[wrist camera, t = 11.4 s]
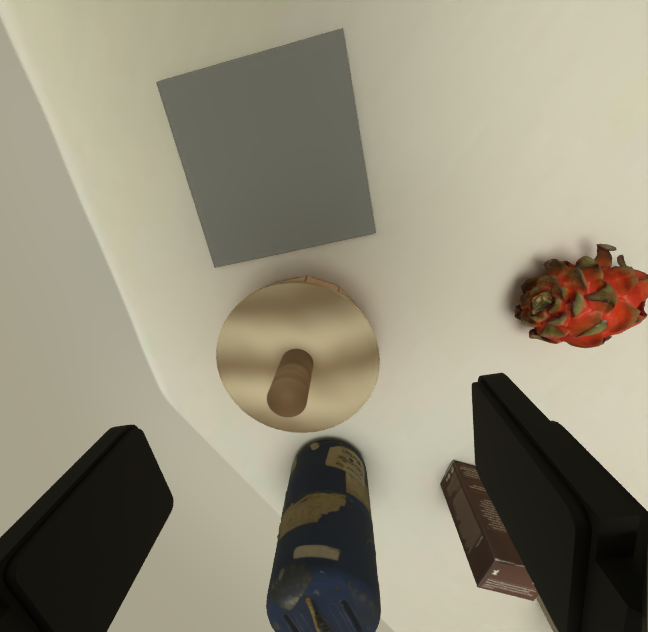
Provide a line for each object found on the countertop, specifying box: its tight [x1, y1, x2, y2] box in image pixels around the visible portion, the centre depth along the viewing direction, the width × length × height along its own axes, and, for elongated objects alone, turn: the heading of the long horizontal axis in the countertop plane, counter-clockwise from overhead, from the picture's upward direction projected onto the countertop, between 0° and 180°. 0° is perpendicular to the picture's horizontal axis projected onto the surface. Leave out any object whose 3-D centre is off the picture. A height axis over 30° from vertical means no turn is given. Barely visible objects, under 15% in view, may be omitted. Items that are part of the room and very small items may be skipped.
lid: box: [216, 281, 380, 433], centre depth 27 cm, size 15×15×7 cm
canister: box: [266, 441, 381, 632], centre depth 33 cm, size 10×10×18 cm
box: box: [441, 461, 539, 601], centre depth 35 cm, size 6×4×12 cm
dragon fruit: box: [515, 244, 648, 348], centre depth 30 cm, size 8×8×12 cm
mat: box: [156, 28, 376, 267], centre depth 31 cm, size 17×17×1 cm
